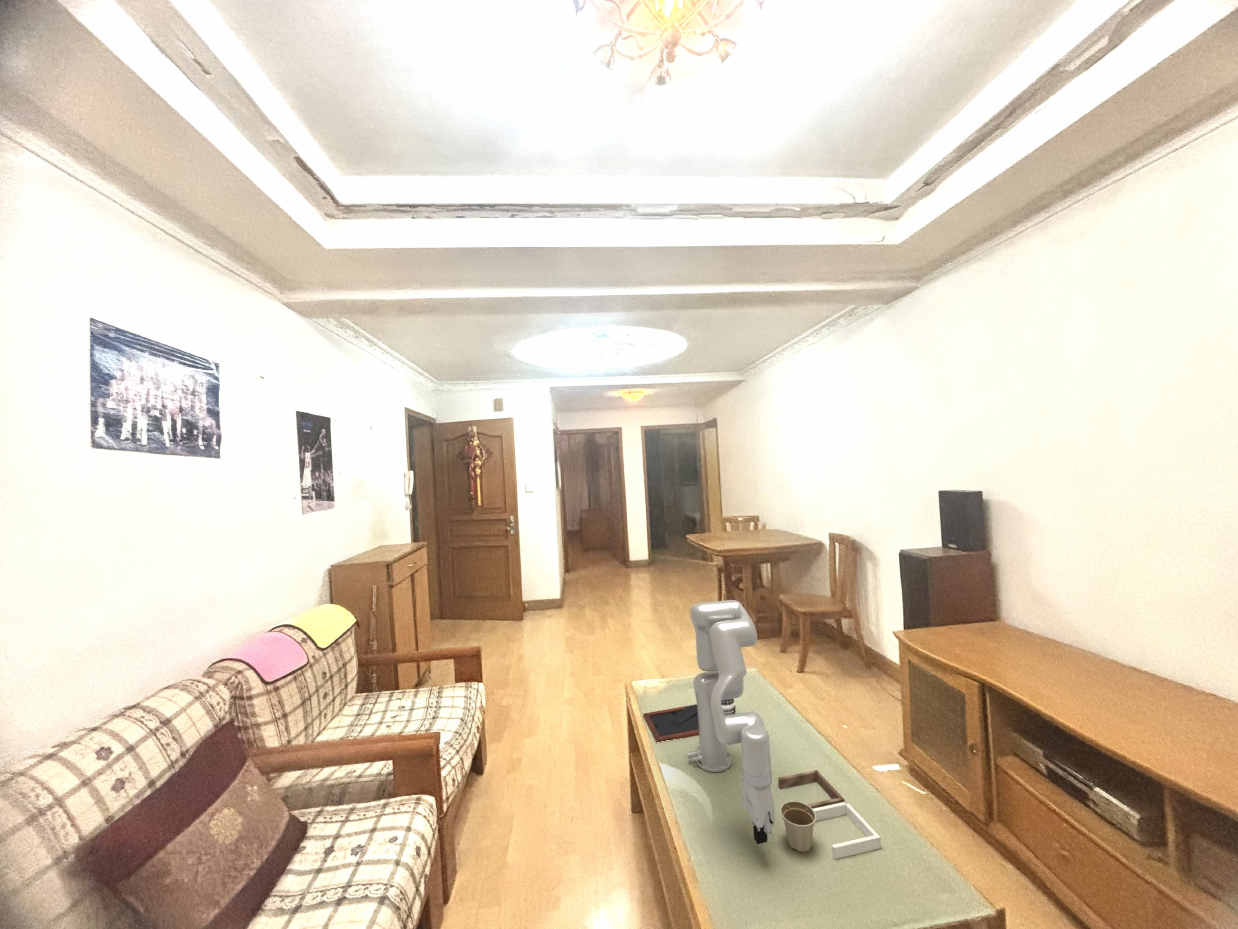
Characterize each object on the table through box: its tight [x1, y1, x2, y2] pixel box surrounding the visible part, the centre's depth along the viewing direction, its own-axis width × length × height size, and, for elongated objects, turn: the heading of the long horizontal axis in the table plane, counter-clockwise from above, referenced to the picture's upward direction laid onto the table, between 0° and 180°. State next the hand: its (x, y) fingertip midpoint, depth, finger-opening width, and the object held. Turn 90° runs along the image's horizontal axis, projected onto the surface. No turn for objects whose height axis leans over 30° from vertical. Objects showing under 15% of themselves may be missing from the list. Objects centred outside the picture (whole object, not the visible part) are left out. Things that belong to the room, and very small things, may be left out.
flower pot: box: [779, 800, 817, 853], centre depth 134 cm, size 9×9×9 cm
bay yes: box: [813, 801, 882, 860], centre depth 136 cm, size 14×14×3 cm
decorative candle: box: [721, 698, 737, 715], centre depth 195 cm, size 9×9×25 cm
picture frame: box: [642, 703, 699, 743], centre depth 197 cm, size 20×2×25 cm
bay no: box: [777, 769, 846, 809], centre depth 151 cm, size 14×14×3 cm
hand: (760, 841), depth 132 cm, fingers closed
